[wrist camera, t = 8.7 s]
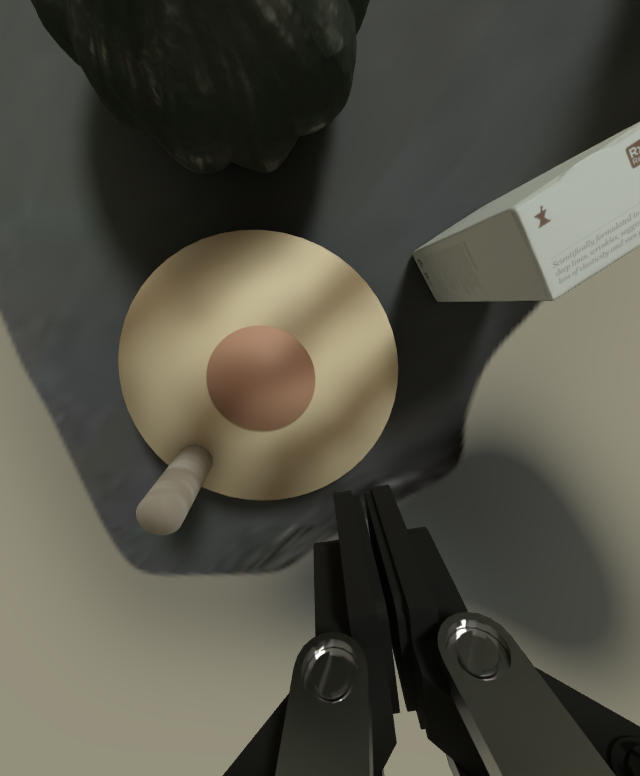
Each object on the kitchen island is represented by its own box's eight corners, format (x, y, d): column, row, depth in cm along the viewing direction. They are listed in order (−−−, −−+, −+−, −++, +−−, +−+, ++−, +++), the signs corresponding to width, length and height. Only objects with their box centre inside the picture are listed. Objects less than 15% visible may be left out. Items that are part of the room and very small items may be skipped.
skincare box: (436, 304, 25) (551, 314, 14) (407, 250, 24) (505, 210, 13) (510, 257, 25) (697, 224, 13) (484, 198, 24) (663, 106, 12)
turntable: (442, 356, 24) (506, 385, 17) (284, 525, 28) (278, 615, 20) (238, 169, 21) (200, 95, 13) (83, 389, 24) (-22, 435, 16)
